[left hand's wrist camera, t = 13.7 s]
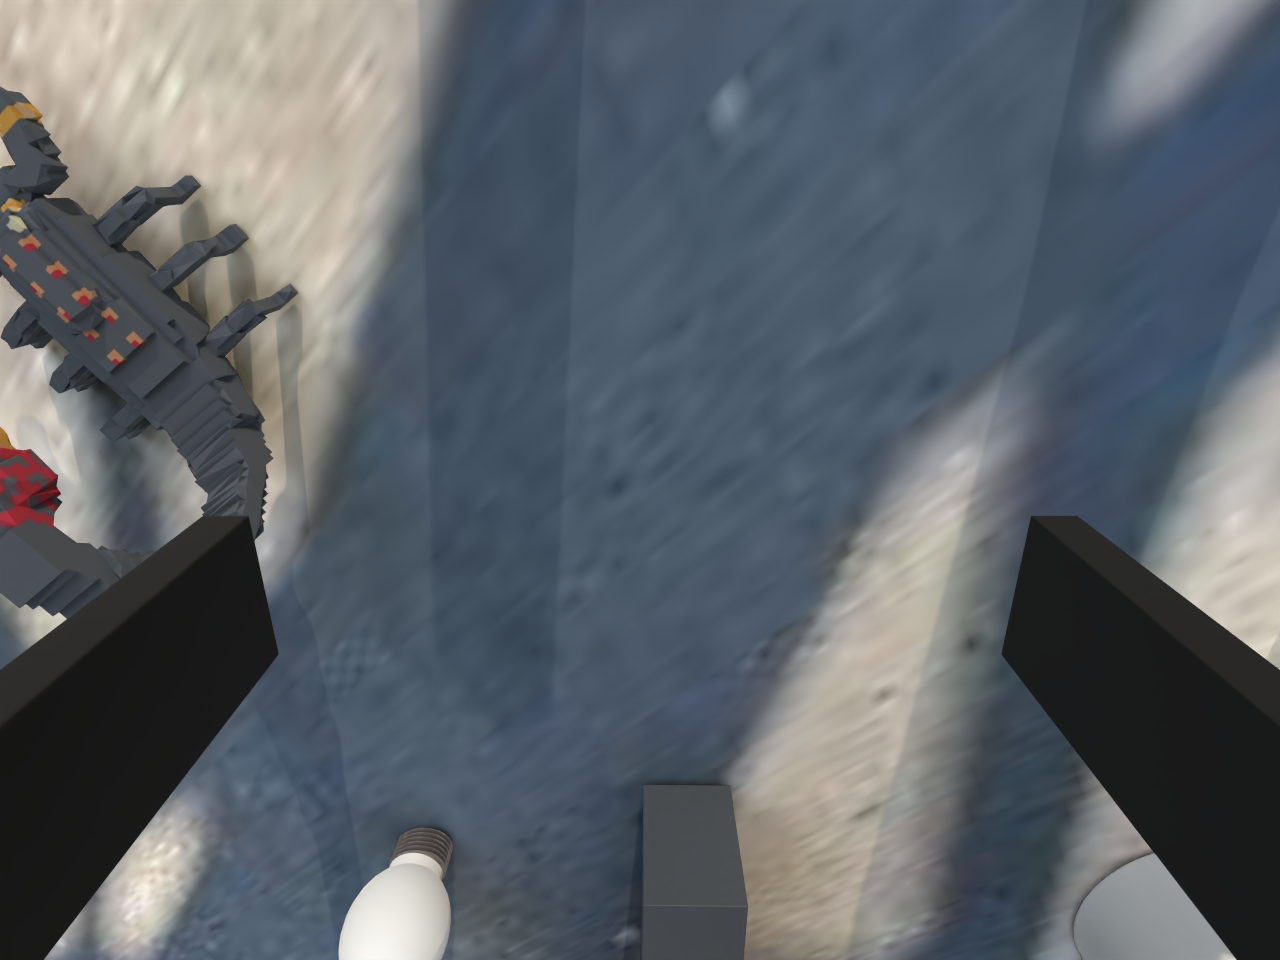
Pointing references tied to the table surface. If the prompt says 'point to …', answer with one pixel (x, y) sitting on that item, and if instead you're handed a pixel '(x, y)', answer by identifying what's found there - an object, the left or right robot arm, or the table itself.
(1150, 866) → the right robot arm
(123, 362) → the toy
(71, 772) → the left robot arm
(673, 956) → the box
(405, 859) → the light bulb
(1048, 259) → the table surface
